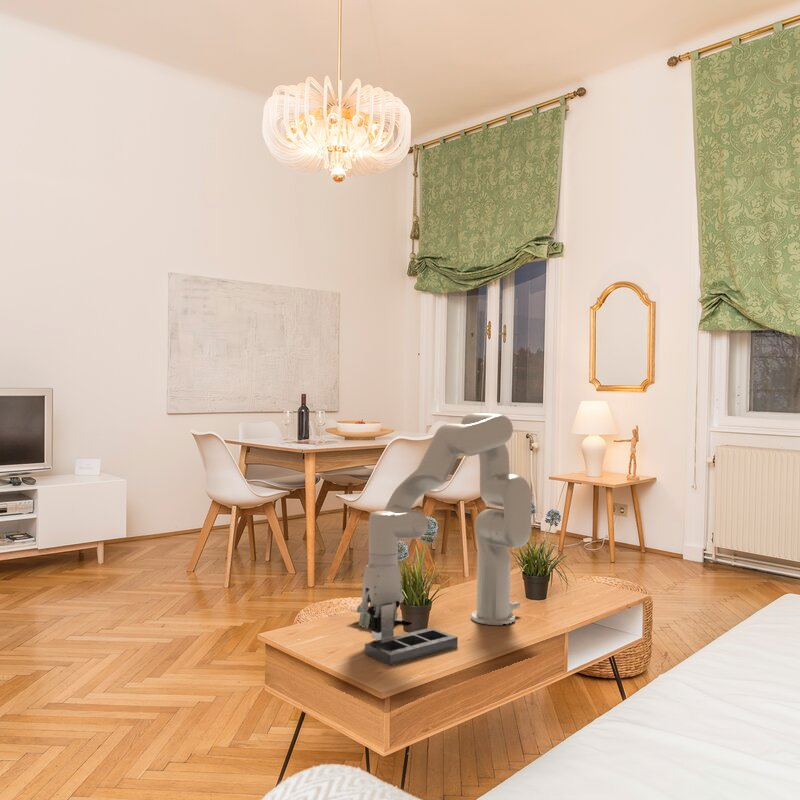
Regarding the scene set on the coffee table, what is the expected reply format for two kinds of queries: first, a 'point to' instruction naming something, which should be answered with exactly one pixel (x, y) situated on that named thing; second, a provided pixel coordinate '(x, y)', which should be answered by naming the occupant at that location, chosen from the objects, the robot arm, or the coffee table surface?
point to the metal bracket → (368, 617)
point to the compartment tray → (404, 648)
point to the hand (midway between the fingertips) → (382, 629)
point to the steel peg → (385, 622)
